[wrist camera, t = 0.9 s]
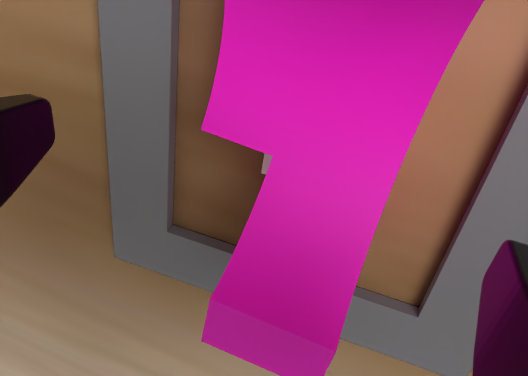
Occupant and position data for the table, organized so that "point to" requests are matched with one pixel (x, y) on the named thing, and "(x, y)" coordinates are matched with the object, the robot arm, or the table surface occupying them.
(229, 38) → the toy block
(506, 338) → the robot arm
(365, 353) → the table surface
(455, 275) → the frame
